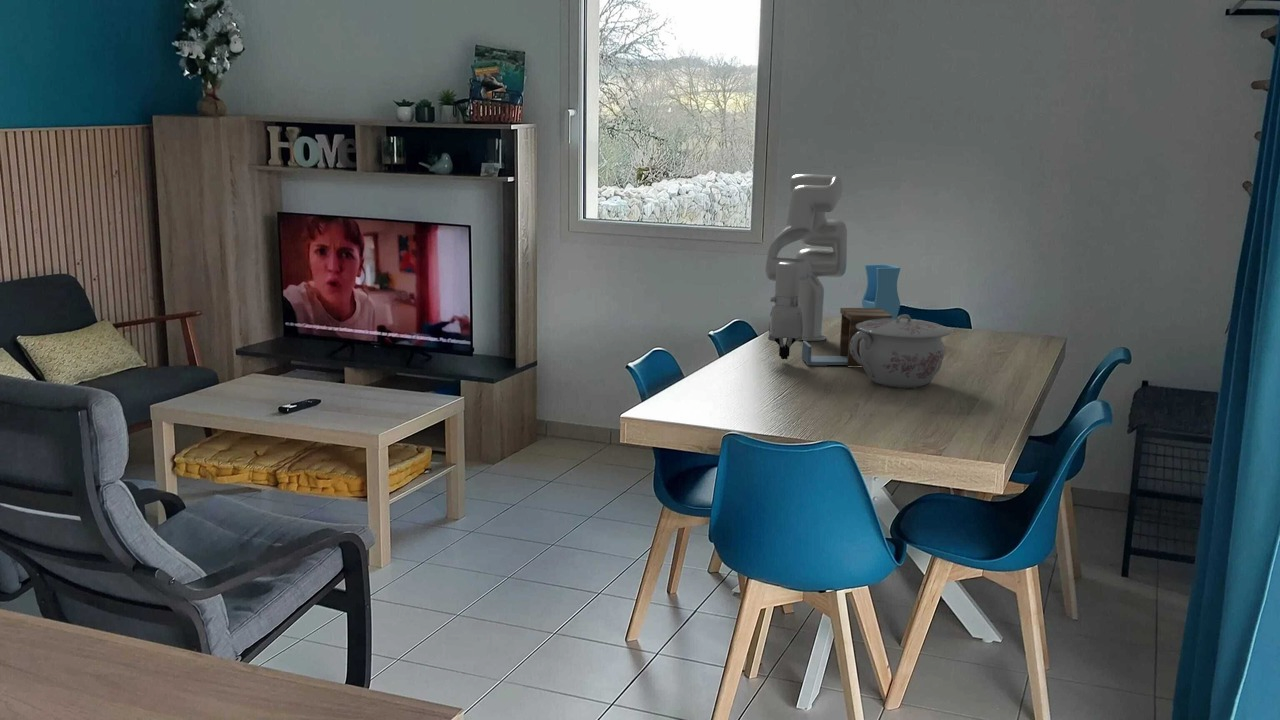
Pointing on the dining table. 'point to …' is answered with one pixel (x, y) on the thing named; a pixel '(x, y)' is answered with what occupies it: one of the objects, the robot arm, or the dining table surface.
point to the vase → (882, 288)
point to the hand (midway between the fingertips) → (783, 358)
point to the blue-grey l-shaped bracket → (821, 357)
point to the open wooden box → (849, 327)
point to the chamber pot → (899, 350)
